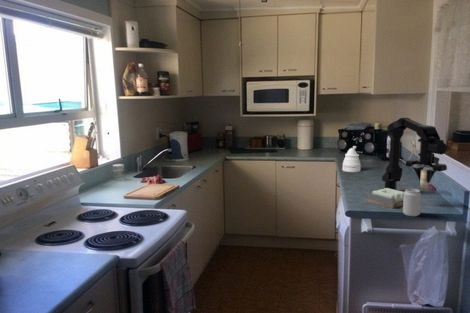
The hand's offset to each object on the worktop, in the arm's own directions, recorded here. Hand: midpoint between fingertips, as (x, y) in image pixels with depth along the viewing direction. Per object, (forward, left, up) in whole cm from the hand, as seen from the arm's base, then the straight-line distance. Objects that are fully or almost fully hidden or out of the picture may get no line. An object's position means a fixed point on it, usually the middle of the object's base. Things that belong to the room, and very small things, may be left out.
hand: (424, 181), depth 191 cm
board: (+8, -13, -12) cm, 19 cm away
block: (+10, -13, -10) cm, 19 cm away
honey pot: (-38, -81, -12) cm, 90 cm away
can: (+19, +6, -12) cm, 23 cm away
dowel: (0, 0, -4) cm, 4 cm away
